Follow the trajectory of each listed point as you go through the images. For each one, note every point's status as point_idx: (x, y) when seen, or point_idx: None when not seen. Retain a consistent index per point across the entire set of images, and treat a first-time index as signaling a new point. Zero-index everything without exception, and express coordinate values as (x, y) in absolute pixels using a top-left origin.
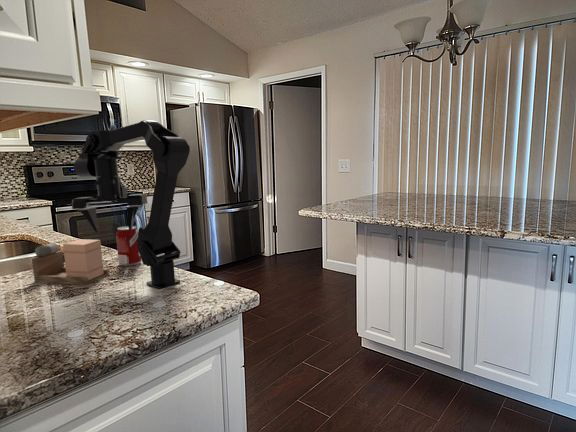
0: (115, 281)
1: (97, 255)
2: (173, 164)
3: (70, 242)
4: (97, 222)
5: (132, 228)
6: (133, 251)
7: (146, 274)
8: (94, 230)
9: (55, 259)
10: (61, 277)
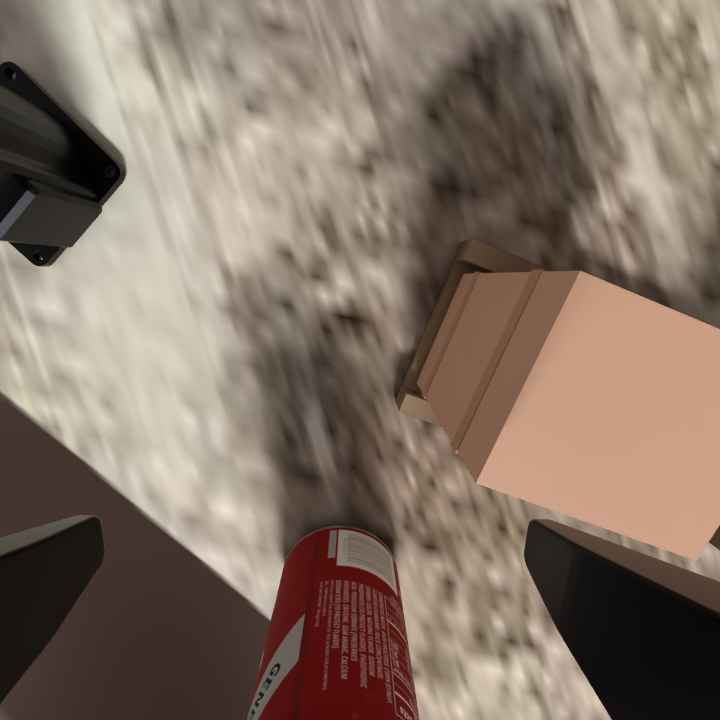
0: (324, 276)
1: (460, 385)
2: None
3: None
4: (611, 714)
5: None
6: (293, 592)
7: (192, 367)
8: (577, 531)
9: None
10: None
